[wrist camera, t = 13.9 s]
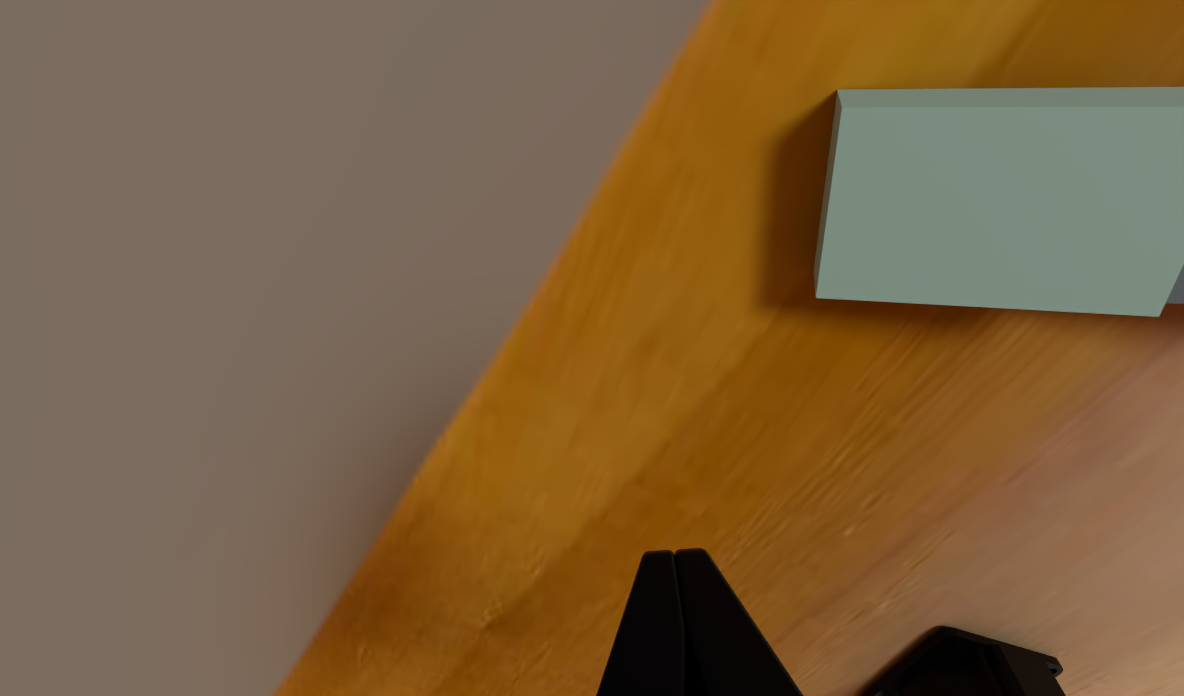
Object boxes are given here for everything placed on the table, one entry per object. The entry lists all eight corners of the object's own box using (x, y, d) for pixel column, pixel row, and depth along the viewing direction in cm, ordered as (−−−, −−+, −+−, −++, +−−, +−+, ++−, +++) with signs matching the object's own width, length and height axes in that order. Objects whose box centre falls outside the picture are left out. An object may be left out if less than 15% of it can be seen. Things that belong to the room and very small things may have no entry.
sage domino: (837, 89, 17) (1216, 87, 15) (813, 270, 20) (1132, 285, 18) (842, 107, 16) (1257, 106, 14) (815, 297, 18) (1158, 316, 17)
